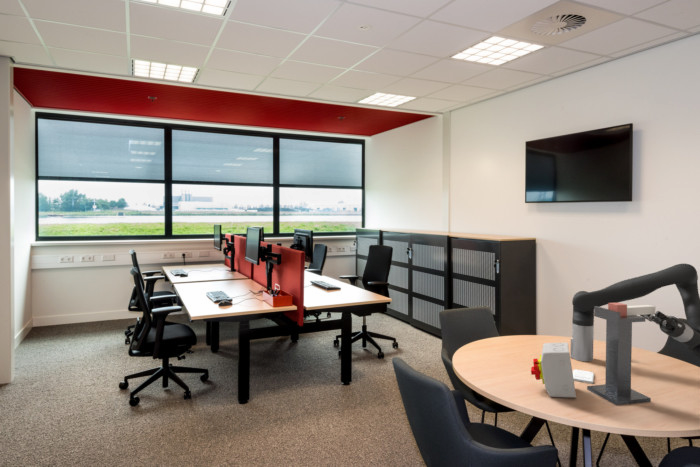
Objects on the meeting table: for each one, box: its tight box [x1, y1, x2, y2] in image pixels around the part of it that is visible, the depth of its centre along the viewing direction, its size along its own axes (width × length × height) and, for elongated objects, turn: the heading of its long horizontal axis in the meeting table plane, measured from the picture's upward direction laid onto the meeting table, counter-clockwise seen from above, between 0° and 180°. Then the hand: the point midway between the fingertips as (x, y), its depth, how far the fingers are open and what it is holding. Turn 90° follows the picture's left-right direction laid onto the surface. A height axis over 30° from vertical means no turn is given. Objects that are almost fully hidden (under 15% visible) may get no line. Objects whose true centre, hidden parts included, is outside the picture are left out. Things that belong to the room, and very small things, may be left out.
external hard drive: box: [572, 368, 595, 385], centre depth 189 cm, size 2×8×12 cm
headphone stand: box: [586, 306, 652, 406], centre depth 169 cm, size 15×15×34 cm
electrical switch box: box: [530, 341, 577, 398], centre depth 175 cm, size 15×15×20 cm
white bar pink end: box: [607, 302, 656, 316], centre depth 169 cm, size 18×4×4 cm, turn 101°
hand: (647, 310), depth 171 cm, fingers open, 8 cm apart
